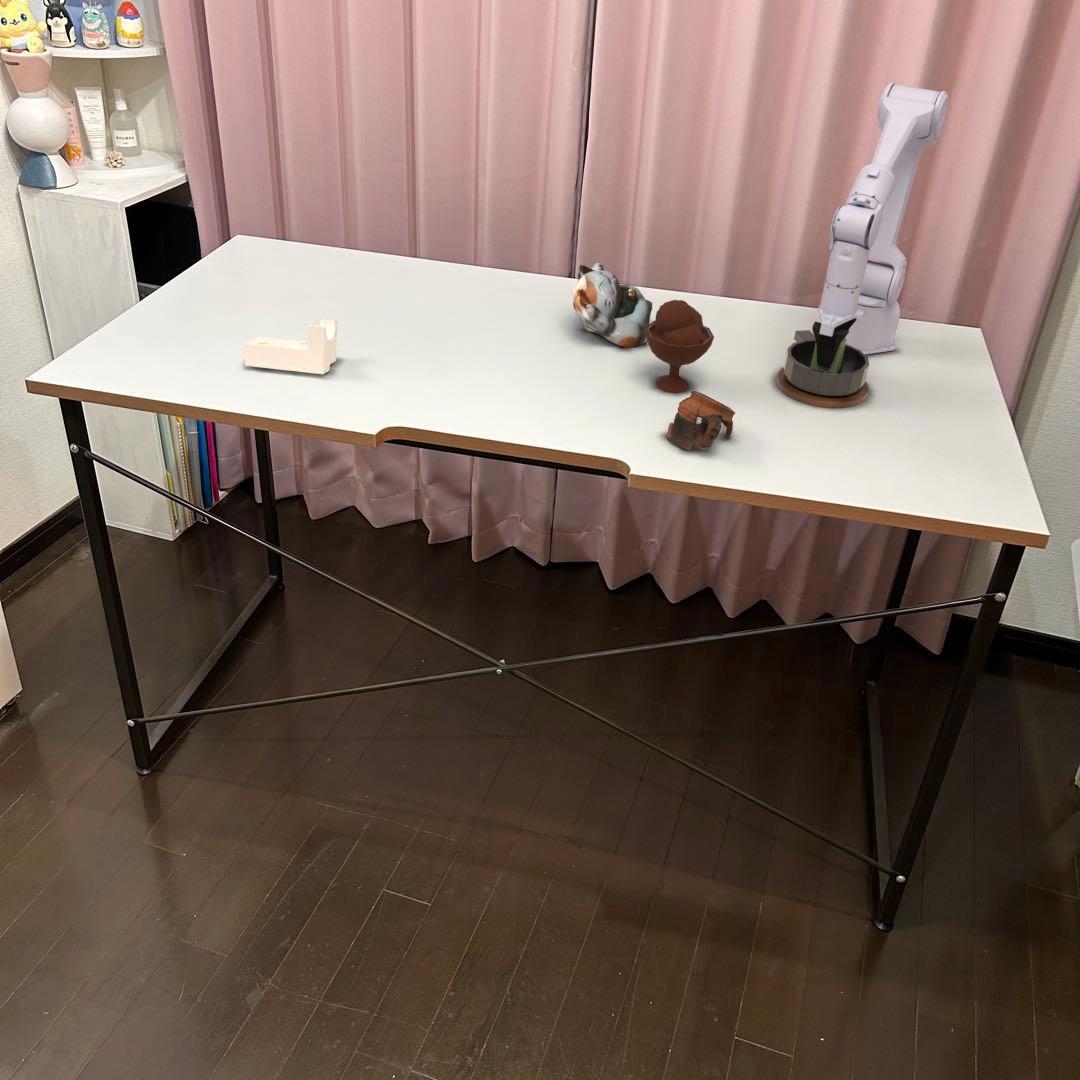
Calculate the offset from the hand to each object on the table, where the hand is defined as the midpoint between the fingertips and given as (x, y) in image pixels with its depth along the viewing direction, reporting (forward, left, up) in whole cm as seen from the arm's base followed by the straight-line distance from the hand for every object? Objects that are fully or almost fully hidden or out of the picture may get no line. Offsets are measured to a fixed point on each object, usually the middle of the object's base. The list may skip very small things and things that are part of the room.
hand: (827, 360), depth 187 cm
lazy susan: (0, 0, -5) cm, 5 cm away
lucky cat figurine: (+25, -29, -5) cm, 39 cm away
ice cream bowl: (+24, -8, -5) cm, 26 cm away
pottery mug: (+29, +10, -5) cm, 31 cm away
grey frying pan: (0, -2, -4) cm, 4 cm away
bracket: (+81, -34, -5) cm, 88 cm away
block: (0, 0, -1) cm, 1 cm away
